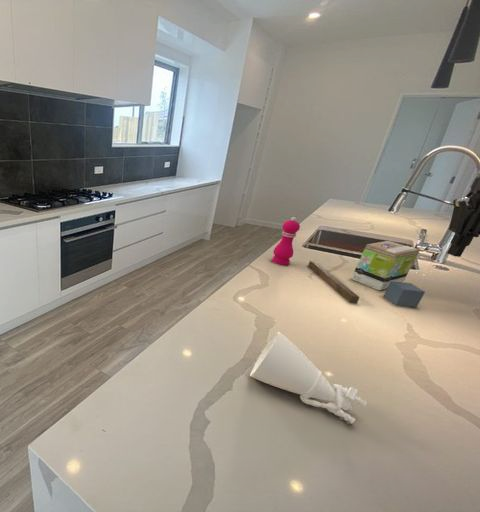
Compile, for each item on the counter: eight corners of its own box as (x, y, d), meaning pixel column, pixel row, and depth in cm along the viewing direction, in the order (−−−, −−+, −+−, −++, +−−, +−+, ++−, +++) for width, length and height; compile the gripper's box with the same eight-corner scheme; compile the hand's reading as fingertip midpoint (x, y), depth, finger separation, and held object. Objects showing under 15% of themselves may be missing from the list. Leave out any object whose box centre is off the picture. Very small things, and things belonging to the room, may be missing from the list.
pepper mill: (271, 257, 132) (284, 213, 125) (290, 261, 129) (305, 216, 121) (269, 262, 127) (282, 217, 119) (289, 267, 123) (304, 220, 115)
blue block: (416, 307, 97) (425, 291, 94) (395, 305, 98) (403, 289, 95) (402, 298, 102) (410, 283, 100) (383, 296, 103) (390, 281, 101)
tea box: (381, 291, 106) (399, 253, 100) (349, 279, 115) (364, 243, 109) (403, 285, 112) (421, 248, 106) (371, 273, 120) (387, 239, 114)
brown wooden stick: (356, 303, 98) (359, 297, 97) (350, 302, 98) (353, 296, 97) (313, 266, 125) (315, 260, 124) (308, 265, 125) (309, 260, 124)
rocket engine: (390, 385, 53) (284, 325, 61) (361, 443, 50) (255, 372, 59) (358, 389, 62) (271, 338, 71) (333, 438, 60) (246, 378, 69)
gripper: (510, 176, 85) (466, 252, 94) (457, 173, 87) (419, 248, 96) (541, 180, 78) (490, 262, 87) (483, 177, 80) (439, 257, 89)
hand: (453, 254), depth 92 cm, fingers closed
